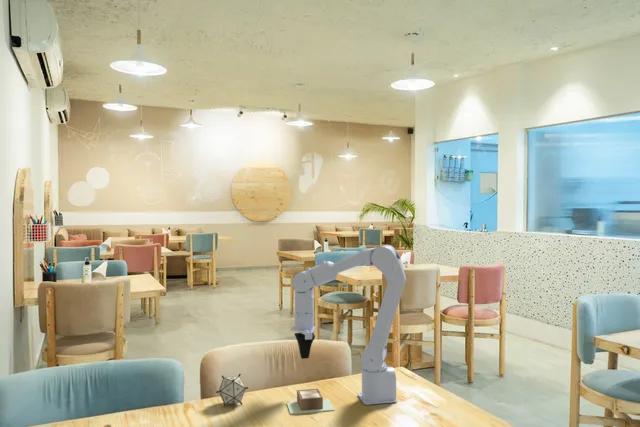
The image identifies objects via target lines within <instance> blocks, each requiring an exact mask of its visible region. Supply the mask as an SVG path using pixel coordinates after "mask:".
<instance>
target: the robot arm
mask: <svg viewBox="0 0 640 427" xmlns="http://www.w3.org/2000/svg"><path fill="white" fill-rule="evenodd" d="M360 265H361V266H362V265H365V266H369V267H371V266H374V267H375V268H376V269H377V270H378V271H380V272H381V273H382V274H383V276H384V278H385V280H386V281H387V285H386V287H385V291H384V295H383V298H382V301H381V304H380V307H379V311H378V314H377V317H376V321H375V323H374V328H373V330H372V334H371V336H370V339H369V342H368V344H367V345H366V347H365V349H364V350H363V351H362V353H361V355H360V363H361V392H358V393H357V397H358V398H359V399H360V400H361V401H362V403H363V404H364V405H365V406H366V405H367V406H370V405H380V404H390V403H397V402H398V400H397V377H396V376H397V375H396V371H395V368H393V366H388V365H387V364H386V362H385V359H386V358H387V355H388V349H387V345H388V341H389V336H390V332H391V330H392V328H393V327H392V326H393V322H394V320H395V317H396V314H397V310H398V307H399V303H400V302H401V297H402V295H403V294H402V293H403V291H404V288H405V285H406V281H407V276H406V272H405V270H404V266H403V263H402V257H401V255H400V253H398V250H397V249H396V248H395V247H394V246H392V245H390V244H382V245H380V246H379V247H378V246H376V247H372V248H369V249H368V248H367V249H364V250H362V251H360V252H357V253H355V254H352V255H350V256H348V257H346V258H343V259H341V260H339V261H337V262H332V261H331V260H330V261H329V260H327V261H326V260H322V261H320V262H319V264H318V265H315V266H312V267H310V266H309V267H306V268H305V270H304V271H300V272H298V273H296V274H295V275H294V276H293V277H292V281H291V284H292V285H291V286H292V288H293V289H294V326H291V327H290V330H291V331H292V332H293V331H294V332H295V331H296V332H295V333H294V337H295V339H296V342H297V346H298V349H299V350H298V351H299V355H300V358H301V359H302V360H304V359H309V358H310V353H311V348H312V345H313V342H314V340H315V338H316V335H315V333H314V331H315V330H316V328H315V296H314V293H315V292H314V288H315V287H316V288H317V287H319V286H322V285H325V284H327V283H330V282H332V281H335V280H337V278H338V276H339V273H343V272H346V271H347V270H350V269H353V268H355V267H359V266H360Z"/></svg>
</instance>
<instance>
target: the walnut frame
mask: <svg viewBox="0 0 640 427" xmlns="http://www.w3.org/2000/svg"><path fill="white" fill-rule="evenodd" d="M323 400H324V397H323V395H322V394H321V392H320V390H319V389H318V388H311V389H310V388H309V389H297V390H296V402H298V405H299V407H300V409H301V411H302V410H314V409H323Z"/></svg>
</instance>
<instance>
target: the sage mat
mask: <svg viewBox="0 0 640 427" xmlns="http://www.w3.org/2000/svg"><path fill="white" fill-rule="evenodd" d="M286 405H287V408H288V411H289V413H290V415H298V414H300V415H301V414H310V413H311V414H312V413H321V412H322V413H323V412H332V411H333V412H334V411H335V408H334V406H333V405H332V402H331V401H330V399H328V398H325V399H323V409H314V410H302V411H301V409H300V407H299V405H298V402H297V401H291V402H290V401H289V402H286Z"/></svg>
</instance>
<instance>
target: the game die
mask: <svg viewBox="0 0 640 427" xmlns="http://www.w3.org/2000/svg"><path fill="white" fill-rule="evenodd" d="M241 375H242V374H241V373H239V374H238V375H236V376H235V375H234V376H224V375H221V378H222V379H221V384H220V386H219V389H218V390H216V391H215V393H216V394H218V395H219V396H220V398H221V400H222V402H223V403H224V404H223V408H224V407H226V405H232V404H238V403H240V405H243V402H242V400H243V397H244V395H245V393H246V390H248V389H249V387H248V386H245V384H244V382H243V380H242V379H241Z"/></svg>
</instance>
